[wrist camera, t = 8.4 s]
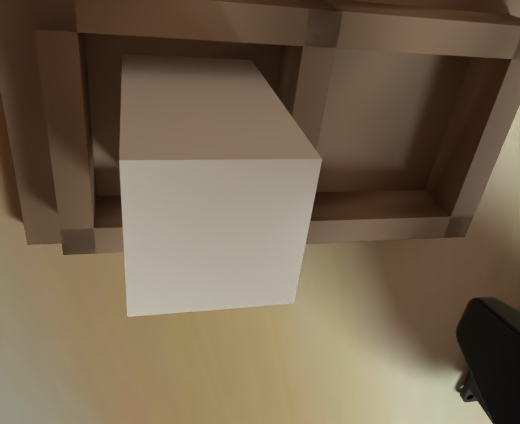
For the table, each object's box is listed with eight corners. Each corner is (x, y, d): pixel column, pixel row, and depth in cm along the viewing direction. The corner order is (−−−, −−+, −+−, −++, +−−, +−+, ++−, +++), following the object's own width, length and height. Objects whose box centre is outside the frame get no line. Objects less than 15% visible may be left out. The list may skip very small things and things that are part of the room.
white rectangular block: (251, 60, 16) (322, 159, 10) (240, 170, 18) (294, 303, 12) (122, 53, 15) (118, 160, 9) (127, 171, 17) (127, 317, 11)
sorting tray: (591, -157, 15) (679, -165, 13) (449, 215, 23) (487, 254, 20) (-54, -287, 11) (-107, -337, 8) (31, 228, 18) (17, 281, 16)
